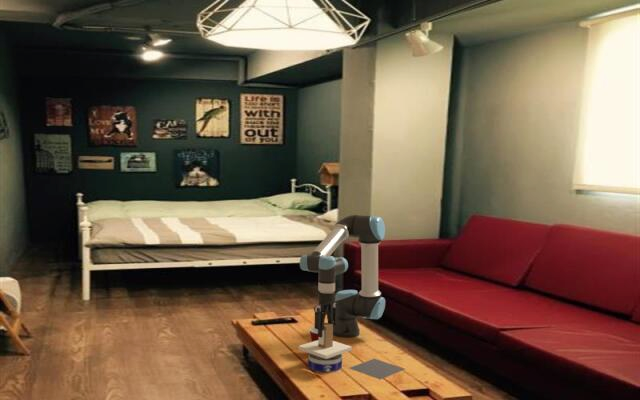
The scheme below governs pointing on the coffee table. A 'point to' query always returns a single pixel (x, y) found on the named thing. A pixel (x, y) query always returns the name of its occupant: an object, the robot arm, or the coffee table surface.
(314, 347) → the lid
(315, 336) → the plastic cup
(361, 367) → the mat
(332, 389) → the coffee table surface
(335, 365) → the dog bowl
